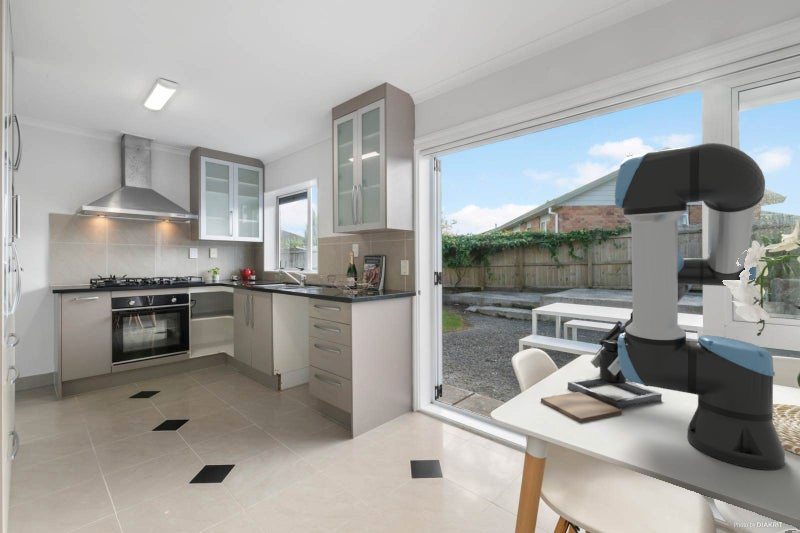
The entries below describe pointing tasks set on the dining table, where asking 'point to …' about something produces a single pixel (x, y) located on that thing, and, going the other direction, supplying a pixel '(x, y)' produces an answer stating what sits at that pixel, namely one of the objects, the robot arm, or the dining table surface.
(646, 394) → the metal rim
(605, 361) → the supplement bottle
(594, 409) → the walnut board
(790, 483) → the dining table surface
